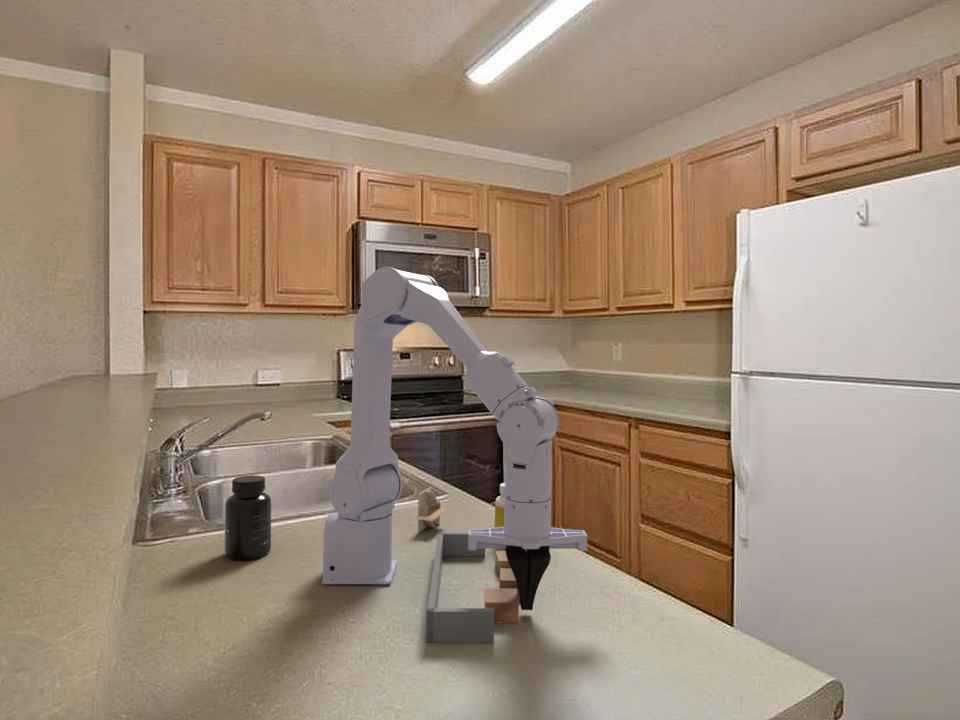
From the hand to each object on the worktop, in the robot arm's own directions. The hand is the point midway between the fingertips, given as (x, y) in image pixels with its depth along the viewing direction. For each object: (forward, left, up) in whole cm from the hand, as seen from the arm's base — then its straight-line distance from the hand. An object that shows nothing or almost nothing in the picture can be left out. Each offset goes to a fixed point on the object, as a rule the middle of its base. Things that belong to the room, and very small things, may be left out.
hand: (526, 606), depth 69 cm
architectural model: (-14, +33, -2) cm, 36 cm away
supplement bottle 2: (0, +26, -1) cm, 27 cm away
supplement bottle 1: (-42, +20, -1) cm, 47 cm away
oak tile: (-1, +14, -1) cm, 14 cm away
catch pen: (-8, +7, -1) cm, 11 cm away
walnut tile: (-1, +7, -1) cm, 7 cm away
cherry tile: (-3, 0, -1) cm, 3 cm away
